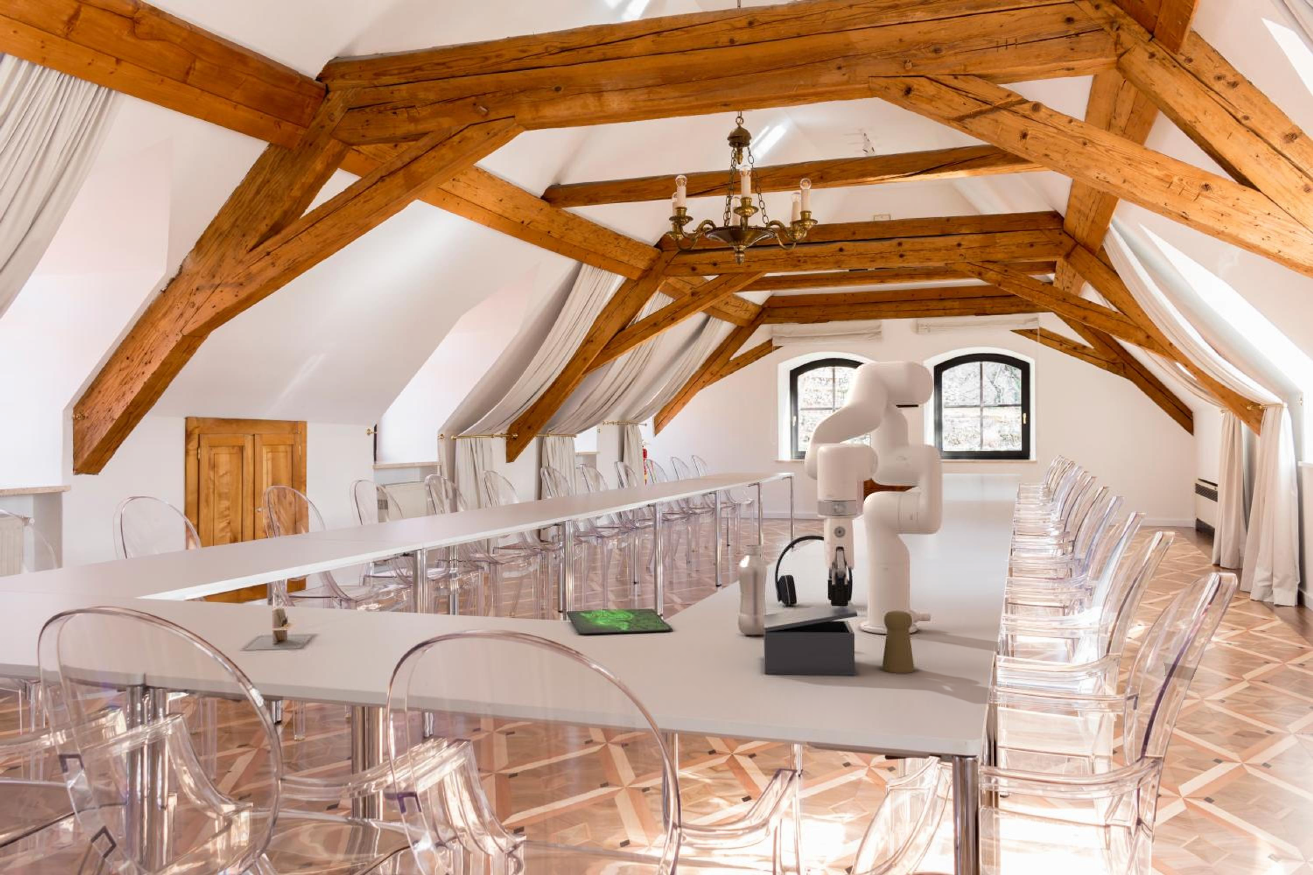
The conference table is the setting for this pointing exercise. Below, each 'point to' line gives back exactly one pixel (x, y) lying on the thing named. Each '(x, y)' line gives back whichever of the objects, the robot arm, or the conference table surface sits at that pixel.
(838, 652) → the dark grey bin
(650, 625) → the mouse mat
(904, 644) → the cork
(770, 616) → the box lid with handle
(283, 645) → the architectural model
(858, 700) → the conference table surface
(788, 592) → the headphones
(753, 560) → the plastic bottle
